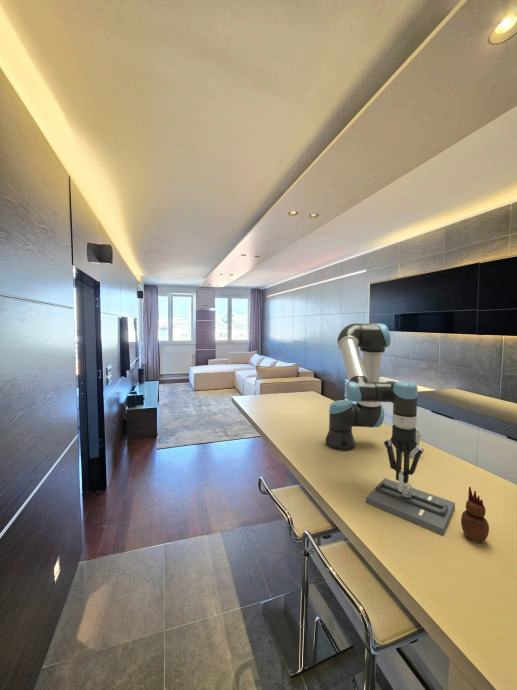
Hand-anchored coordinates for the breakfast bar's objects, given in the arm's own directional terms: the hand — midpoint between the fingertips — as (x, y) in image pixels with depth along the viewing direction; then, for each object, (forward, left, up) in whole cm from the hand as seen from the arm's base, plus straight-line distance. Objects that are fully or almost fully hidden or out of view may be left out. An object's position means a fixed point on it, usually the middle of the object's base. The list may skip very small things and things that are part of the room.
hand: (401, 490), depth 106 cm
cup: (-9, +44, -5) cm, 45 cm away
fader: (+2, 0, -3) cm, 3 cm away
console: (+3, 0, -5) cm, 5 cm away
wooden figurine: (+22, -4, -5) cm, 23 cm away
